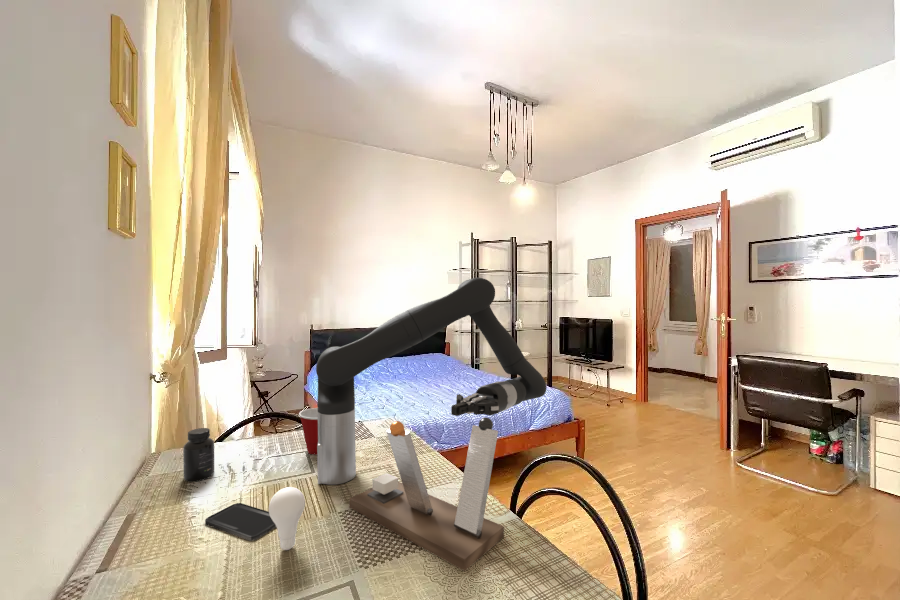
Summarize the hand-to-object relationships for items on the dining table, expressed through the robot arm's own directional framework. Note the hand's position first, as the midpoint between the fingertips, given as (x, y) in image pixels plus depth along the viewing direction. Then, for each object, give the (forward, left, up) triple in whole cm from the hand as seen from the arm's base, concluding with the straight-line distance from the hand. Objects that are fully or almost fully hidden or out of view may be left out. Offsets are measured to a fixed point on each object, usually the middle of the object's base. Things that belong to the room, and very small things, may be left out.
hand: (453, 411), depth 88 cm
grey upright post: (-2, -16, -17) cm, 24 cm away
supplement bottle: (-61, +31, -20) cm, 71 cm away
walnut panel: (-9, -6, -20) cm, 23 cm away
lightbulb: (-34, -8, -20) cm, 40 cm away
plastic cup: (-32, +40, -20) cm, 55 cm away
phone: (-44, +4, -20) cm, 49 cm away
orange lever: (-9, -6, -17) cm, 20 cm away
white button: (-15, +3, -17) cm, 23 cm away
